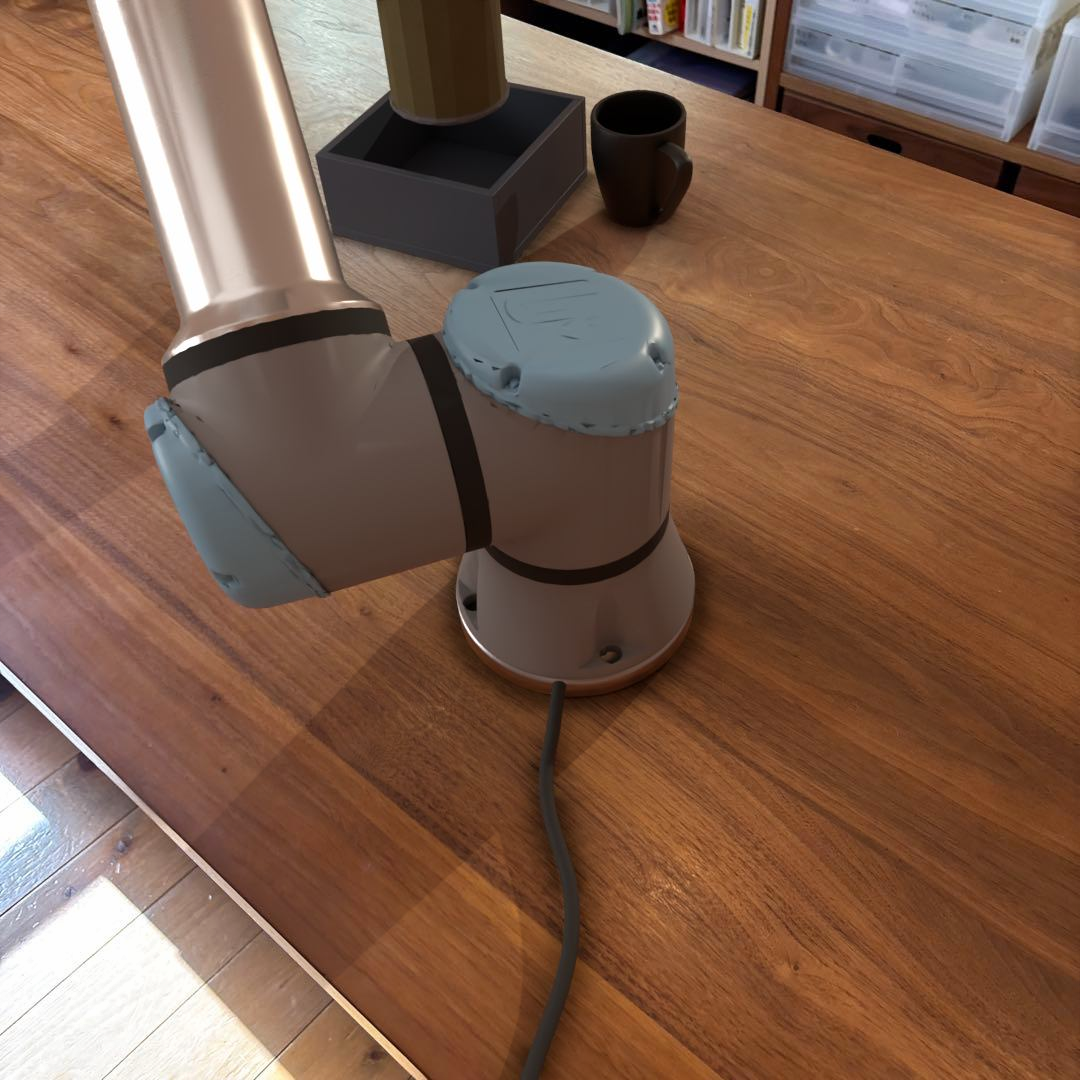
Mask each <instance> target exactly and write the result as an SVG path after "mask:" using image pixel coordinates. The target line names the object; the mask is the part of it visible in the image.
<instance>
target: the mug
mask: <svg viewBox="0 0 1080 1080" xmlns="http://www.w3.org/2000/svg"><path fill="white" fill-rule="evenodd" d="M687 115H688V114H687V109H686V106H685V105H684V103H683V102H681V100H679V99H678V98H676V97H675V96H672V95H670V94H669V93H666V92H661V91H657V90H649V89H631V90H625V91H624V90H623V91H620V92H616V93H612V94H610V95H607V96H605V97H604V98H601V99H600V100H599V101H598V102H597V103H595V104H594V106H593V107H592V109H591V111H590V116H589V122H590V123H589V125H590V128H589V129H590V151H591V152H590V153H591V159H592V165H593V169H594V174H595V177H596V181H597V185H598V189H599V192H600V195H601V198H602V201H603V204H604V206H605V209H606V214H607V216H608V217H609V219H610V220H611V221H612V222H614V223H616V224H618V225H620V226H623V227H628V228H645V227H649V226H653V225H654V226H662V225H664V224H666V223H667V222H668V221H669V220H670V219H671V218H672V217H673V216H674V214H675V213H676V211H677V209H678V208H679V206H680V205H681V203H682V201H683V199H684V198H685V196H686V194H687V192H688V190H689V188H690V186H691V183H692V179H693V175H694V174H693V173H694V163H693V160H692V158H691V156H690V154H689V153H688V152H687V151H686V149H685V148H686V135H687V134H686V133H687Z"/></svg>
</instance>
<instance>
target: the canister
mask: <svg viewBox="0 0 1080 1080" xmlns="http://www.w3.org/2000/svg"><path fill="white" fill-rule="evenodd" d="M500 1H501V0H375V2H376V8H377V14H378V21H379V29H380V34H381V35H380V36H381V39H382V47H383V53H384V60H385V66H386V72H387V78H388V84H389V85H388V86H389V91H390V95H389V101H390V105H391V107H392V109H393V110H394V111H395V112H396V113H398V114H399V115H400V116H402V117H403V118H405V119H408V120H411V121H413V122H416V123H419V124H428V125H439V126H449V125H458V124H463V123H468V122H473V121H475V120H478V119H481V118H483V117H485V116H487V115H489V114H491V113H493V112H495V111H497V110H498V109H499V108H500V107H501V106H502V105H503V104H504V103H505V102H506V100H507V98H508V96H509V91H510V87H509V83H508V82H509V81H508V79H507V78H506V64H505V52H504V40H503V37H504V36H503V27H502V26H503V25H502V12H501V2H500Z"/></svg>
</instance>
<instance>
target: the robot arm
mask: <svg viewBox="0 0 1080 1080" xmlns="http://www.w3.org/2000/svg"><path fill="white" fill-rule="evenodd" d="M86 3H87V7H88V9H89V13H90V16H91V20H92V23H93V27H94V30H95V34H96V37H97V40H98V44H99V47H100V51H101V54H102V57H103V61H104V65H105V68H106V71H107V74H108V78H109V81H110V85H111V88H112V92H113V96H114V98H115V102H116V106H117V108H118V109H117V110H118V112H119V116H120V119H121V122H122V125H123V130H124V132H125V137H126V139H127V143H128V146H129V149H130V153H131V157H132V160H133V163H134V166H135V170H136V173H137V177H138V180H139V184H140V187H141V191H142V193H143V197H144V201H145V204H146V207H147V211H148V213H149V214H148V215H149V218H150V222H151V225H152V228H153V232H154V234H155V238H156V242H157V246H158V248H159V252H160V255H161V259H162V262H163V266H164V268H165V272H166V275H167V279H168V282H169V287H170V289H171V293H172V296H173V300H174V303H175V307H176V310H177V313H178V314H177V315H178V317H179V320H180V325H179V329H178V331H177V332H176V334H175V336H174V338H173V339H172V340H171V342H170V344H169V345H168V347H167V348H166V351H165V352H164V354H163V355H162V357H161V361H160V364H161V368H162V372H163V375H164V378H165V383H166V386H167V389H168V392H169V398H167V397H166V396H161V397H157V398H156V400H155V402H153V403H152V404H150V405H148V406H147V407H146V408H145V410H144V412H143V423H144V428H145V431H146V433H147V435H148V438H149V441H150V444H151V448H152V453H153V456H154V459H155V461H156V464H157V467H158V470H159V472H160V475H161V476H162V480H163V481H164V484H165V486H166V489H167V491H168V494H169V496H170V497H171V500H172V502H173V505H174V506H175V508H176V510H177V513H178V515H179V517H180V519H181V521H182V523H183V526H184V527H185V529H186V532H187V533H188V535H189V537H190V539H191V541H192V543H193V544H194V547H195V549H196V551H197V553H198V554H199V556H200V558H201V560H202V561H203V563H204V566H205V567H206V568H207V570H208V572H209V573H210V576H212V578H213V580H214V581H215V583H216V584H217V585H218V587H219V588H220V589H221V590H222V591H223V593H224V594H225V595H226V596H227V598H229V599H231V600H232V601H233V602H234V603H236V604H238V605H240V606H242V607H245V608H248V609H253V610H261V609H270V608H274V607H278V606H282V605H286V604H290V603H294V602H298V601H303V600H306V599H311V598H316V597H318V598H320V599H326V598H328V597H331V596H332V593H335V592H338V591H343V590H345V589H349V588H352V587H356V586H359V585H362V584H366V583H369V582H373V581H376V580H380V579H383V578H386V577H389V576H393V575H396V574H401V573H403V572H406V571H410V570H413V569H417V568H420V567H424V566H427V565H428V566H429V565H431V564H434V563H438V562H441V561H445V560H448V559H451V558H454V557H458V556H462V558H461V561H460V563H459V567H458V571H457V575H456V582H455V599H456V605H457V611H458V616H459V621H460V622H459V623H460V626H461V628H462V632H463V634H464V637H465V639H466V641H467V643H468V645H469V647H470V648H471V649H472V651H473V652H474V653H475V655H476V656H477V657H478V658H479V659H480V660H481V662H482V663H483V664H484V665H486V666H487V668H489V669H491V671H492V672H493V673H496V675H498V676H500V677H501V678H503V679H504V680H506V681H508V682H510V683H512V684H514V685H517V686H518V687H520V688H523V689H526V690H529V691H532V692H536V693H540V694H544V695H549V696H550V699H549V700H550V701H549V706H548V712H547V720H546V726H545V733H544V739H543V744H542V748H541V753H540V760H539V767H538V768H539V769H538V794H539V801H540V809H541V814H542V819H543V823H544V827H545V830H546V834H547V838H548V841H549V844H550V847H551V851H552V853H553V857H554V860H555V864H556V867H557V871H558V874H559V879H560V883H561V889H562V897H563V909H564V913H563V915H564V916H563V918H564V919H563V923H564V924H563V935H562V943H561V950H560V956H559V960H558V961H559V962H558V966H557V970H556V974H555V977H554V981H553V985H552V988H551V991H550V995H549V998H548V1001H547V1002H546V1003H547V1004H546V1006H545V1008H544V1012H543V1014H542V1017H541V1020H540V1022H539V1025H538V1027H537V1028H538V1029H537V1030H536V1033H535V1036H534V1039H533V1040H532V1044H531V1046H530V1050H529V1052H528V1055H527V1058H526V1061H525V1063H524V1066H523V1069H522V1072H521V1075H520V1079H519V1080H540V1076H541V1073H542V1070H543V1067H544V1065H545V1061H546V1059H547V1055H548V1053H549V1050H550V1047H551V1044H552V1042H553V1039H554V1036H555V1034H556V1031H557V1028H558V1025H559V1023H560V1020H561V1017H562V1015H563V1011H564V1008H565V1005H566V1003H567V999H568V997H569V992H570V988H571V985H572V983H573V978H574V973H575V968H576V965H577V964H576V963H577V957H578V953H579V944H580V932H581V901H580V894H579V887H578V882H577V877H576V873H575V872H576V871H575V869H574V865H573V862H572V858H571V855H570V852H569V849H568V846H567V844H566V840H565V837H564V834H563V831H562V828H561V823H560V819H559V815H558V811H557V805H556V800H555V788H554V771H555V761H556V756H557V752H558V747H559V741H560V735H561V727H562V719H563V713H564V705H565V698H566V697H568V698H570V697H571V698H573V697H575V698H576V697H590V696H591V697H592V696H598V695H604V694H608V693H612V692H616V691H619V690H622V689H625V688H628V687H630V686H632V685H634V684H636V683H638V682H641V681H642V680H644V679H646V678H648V677H649V676H651V675H652V674H653V673H655V672H656V671H658V670H659V669H660V668H661V667H663V666H664V665H665V664H666V663H667V662H668V661H669V660H670V659H671V658H672V657H673V656H674V655H675V654H676V652H677V651H678V649H679V648H680V647H681V646H682V643H683V642H684V640H685V638H686V637H687V634H688V631H689V629H690V626H691V624H692V619H693V615H694V609H695V608H694V607H695V595H696V578H695V571H694V566H693V563H692V560H691V558H690V555H689V553H688V550H687V549H686V546H685V545H684V543H683V541H682V539H681V537H680V533H679V531H678V528H677V526H676V524H675V520H674V519H673V517H672V514H671V511H670V507H671V506H670V505H671V492H672V491H671V490H672V475H673V474H672V473H673V456H674V455H673V454H674V440H675V438H674V437H675V424H676V423H675V421H676V411H677V408H678V405H679V400H680V388H679V385H678V380H677V377H676V352H675V351H676V350H675V349H676V348H675V342H674V336H673V334H672V330H671V328H670V325H669V324H668V321H667V320H666V318H665V316H664V315H663V313H662V311H661V310H660V309H659V307H658V306H657V305H656V304H655V303H654V302H653V301H652V300H651V299H650V298H649V297H648V296H646V295H645V294H644V293H643V292H641V291H640V290H639V289H637V288H636V287H635V286H633V285H631V284H630V283H628V282H627V281H624V280H622V279H620V278H618V277H616V276H614V275H611V274H607V273H603V272H600V271H598V270H595V269H594V268H592V267H589V266H585V265H580V264H575V263H567V262H559V261H528V262H526V261H525V262H518V263H517V262H516V263H513V264H512V265H507V266H502V267H498V268H495V269H492V270H490V271H487V272H485V273H480V274H478V275H477V276H475V277H473V278H472V279H470V280H469V281H468V282H467V285H466V288H461V289H459V290H458V291H457V292H456V293H455V294H454V295H453V296H452V297H451V299H450V301H449V303H448V305H447V308H446V310H445V314H444V318H443V320H442V322H441V324H442V328H441V330H440V331H436V332H434V333H429V334H426V335H421V336H417V337H414V338H409V339H404V340H401V341H394V339H393V336H392V333H391V330H390V327H389V322H388V319H387V316H386V313H385V310H384V308H383V306H382V305H381V304H380V303H378V302H376V301H374V300H373V299H371V298H369V297H368V296H367V295H364V294H362V293H360V292H359V291H357V290H356V289H354V288H353V287H351V286H350V285H349V283H347V281H346V279H345V276H344V272H343V269H342V266H341V263H340V259H339V256H338V252H337V249H336V245H335V241H334V238H333V233H332V230H331V226H330V224H329V220H328V217H327V214H326V210H325V207H324V203H323V201H322V200H323V199H322V196H321V193H320V189H319V186H318V182H317V178H316V175H315V172H314V169H313V168H314V167H313V165H312V161H311V158H310V154H309V151H308V147H307V143H306V141H305V140H306V139H305V137H304V133H303V130H302V127H301V123H300V120H299V115H298V112H297V109H296V105H295V103H294V99H293V95H292V92H291V88H290V84H289V81H288V78H287V77H288V76H287V74H286V71H285V68H284V67H285V66H284V64H283V60H282V57H281V53H280V50H279V47H278V43H277V39H276V36H275V33H274V29H273V25H272V22H271V18H270V15H269V11H268V8H267V5H266V1H265V0H86Z"/></svg>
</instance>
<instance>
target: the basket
mask: <svg viewBox="0 0 1080 1080" xmlns="http://www.w3.org/2000/svg"><path fill="white" fill-rule="evenodd" d="M508 83H509V87H510V91H509V96H508V98H507V100H506V102H505V103H504V104H503V105H502V106H501V107H500V108H499V109H498V110H497V111H495V112H493V113H491V114H489V115H487V116H485V117H483V118H481V119H478V120H475V121H473V122H468V123H463V124H458V125H449V126H439V125H428V124H419V123H416V122H413V121H411V120H408V119H405V118H403V117H402V116H400V115H399V114H398V113H396V112H395V111H394V110H393V109H392V107H391V105H390V101H389V95H390V90H388V91H387V92H386V93H385V94H384V95H382V96H381V97H380V98H379V99H378V100H376V101H375V103H373V104H372V105H371V106H370V107H369V108H367V109H366V110H365V111H363V113H362V114H360V115H359V116H358V117H357V118H356V119H355V120H354V121H352V122H351V123H350V124H349V125H347V126H346V128H344V129H343V130H342V131H341V132H340V133H338V134H337V135H336V136H335V137H334V138H333V139H331V140H330V141H329V142H328V143H327V144H326V145H324V146H323V147H322V148H321V149H320V150H319V151H317V152H316V153H315V154H314V158H315V162H316V167H317V170H318V174H319V179H320V185H321V189H322V192H323V197H324V201H325V202H324V203H325V206H326V210H327V215H328V219H329V223H330V224H329V225H330V229H331V233H332V235H334V236H337V237H342V238H345V239H349V240H354V241H357V242H361V243H365V244H368V245H373V246H377V247H380V248H384V249H388V250H391V251H392V250H393V251H395V252H399V253H404V254H407V255H412V256H415V257H419V258H422V259H426V260H431V261H434V262H438V263H442V264H444V265H445V264H446V265H449V266H454V267H458V268H462V269H464V270H465V269H466V270H469V271H473V272H477V273H480V274H483V273H485V272H487V271H490V270H492V269H495V268H498V267H502V266H507V265H512V264H515V262H516V261H517V260H518V259H519V257H520V256H521V255H522V254H523V253H524V252H525V250H526V249H527V248H528V247H529V246H530V245H531V243H532V242H533V241H534V240H535V239H536V237H538V235H539V234H540V233H541V232H542V230H543V229H544V228H545V227H546V226H547V224H548V223H549V222H550V221H551V220H552V219H553V218H554V216H555V215H556V214H557V213H558V212H559V210H561V208H562V207H563V206H564V204H566V203H567V201H568V200H569V199H570V197H572V195H573V194H574V193H575V191H576V190H577V189H578V188H579V187H580V186H581V185H582V184H583V182H584V181H585V180H586V179H587V178H588V153H587V152H588V148H587V147H588V146H587V145H588V143H587V141H588V140H587V107H586V106H587V105H586V96H584V95H579V94H575V93H574V94H573V93H570V92H569V93H568V92H563V91H558V90H552V89H547V88H542V87H537V86H531V85H527V84H521V83H515V82H510V81H508Z"/></svg>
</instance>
